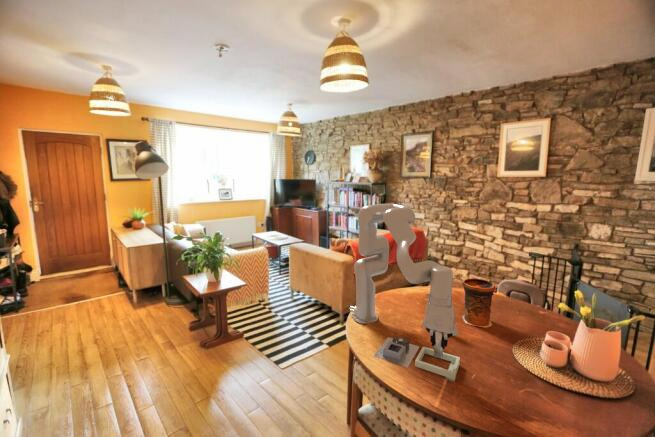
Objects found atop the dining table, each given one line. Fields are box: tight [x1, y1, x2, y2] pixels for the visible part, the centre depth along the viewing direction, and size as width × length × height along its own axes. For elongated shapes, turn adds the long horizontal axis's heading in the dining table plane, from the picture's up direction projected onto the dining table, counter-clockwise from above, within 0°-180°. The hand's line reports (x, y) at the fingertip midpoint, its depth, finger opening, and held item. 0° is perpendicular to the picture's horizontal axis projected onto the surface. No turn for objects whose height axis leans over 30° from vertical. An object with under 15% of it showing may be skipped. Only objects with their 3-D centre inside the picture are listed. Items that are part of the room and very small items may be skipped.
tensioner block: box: [373, 336, 420, 369], centre depth 123 cm, size 14×16×4 cm
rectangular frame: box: [414, 345, 461, 383], centre depth 114 cm, size 14×11×3 cm
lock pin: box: [433, 331, 444, 359], centre depth 112 cm, size 4×4×13 cm
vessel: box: [461, 278, 496, 329], centre depth 146 cm, size 14×14×20 cm
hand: (438, 345), depth 113 cm, fingers closed on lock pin, 3 cm apart
